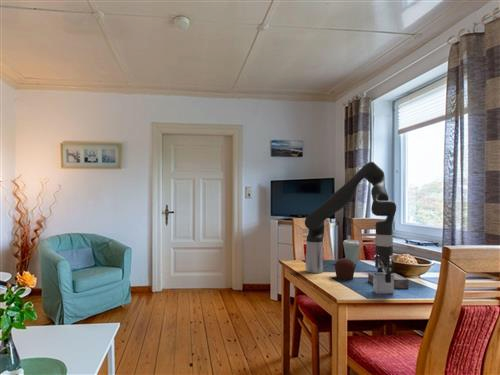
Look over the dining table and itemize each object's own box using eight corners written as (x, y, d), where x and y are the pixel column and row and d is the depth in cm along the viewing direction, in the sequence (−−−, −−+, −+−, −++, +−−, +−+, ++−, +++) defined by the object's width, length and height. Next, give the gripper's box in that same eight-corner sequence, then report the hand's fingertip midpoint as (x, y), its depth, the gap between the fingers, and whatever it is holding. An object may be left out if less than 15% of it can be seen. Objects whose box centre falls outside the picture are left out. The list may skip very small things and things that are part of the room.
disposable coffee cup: (362, 265, 217) (362, 241, 217) (344, 265, 217) (344, 241, 218) (357, 262, 228) (357, 239, 228) (340, 262, 228) (340, 239, 228)
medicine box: (389, 291, 158) (389, 272, 158) (394, 293, 154) (394, 274, 154) (372, 291, 158) (372, 272, 158) (376, 293, 153) (376, 274, 154)
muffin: (331, 275, 190) (332, 256, 190) (352, 275, 190) (352, 257, 190) (337, 280, 178) (337, 260, 178) (358, 280, 178) (358, 261, 178)
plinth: (379, 288, 163) (379, 279, 163) (368, 280, 177) (368, 273, 177) (408, 288, 164) (408, 279, 164) (395, 280, 178) (395, 273, 178)
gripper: (369, 242, 164) (369, 276, 163) (382, 246, 150) (382, 284, 149) (385, 242, 164) (385, 276, 164) (399, 246, 150) (399, 284, 149)
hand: (384, 280), depth 156 cm, fingers open, 8 cm apart
